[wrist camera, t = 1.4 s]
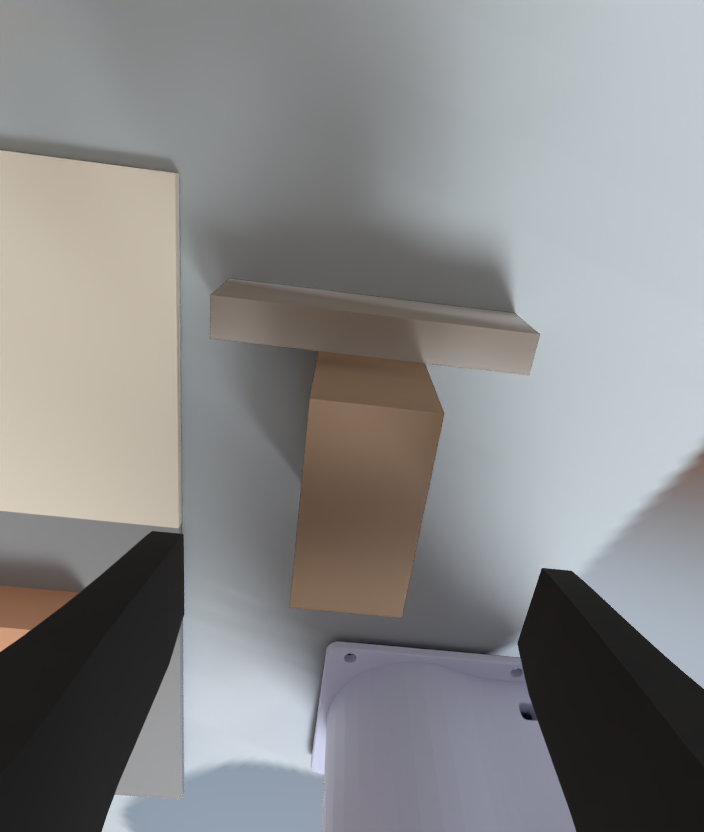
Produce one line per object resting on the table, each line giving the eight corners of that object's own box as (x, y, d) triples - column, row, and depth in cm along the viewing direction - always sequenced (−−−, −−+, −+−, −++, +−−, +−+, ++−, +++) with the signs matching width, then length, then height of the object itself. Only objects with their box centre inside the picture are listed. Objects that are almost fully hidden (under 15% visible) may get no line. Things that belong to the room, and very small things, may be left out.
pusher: (467, 504, 20) (512, 628, 15) (224, 479, 20) (174, 597, 14) (515, 313, 17) (591, 378, 12) (229, 278, 17) (170, 329, 11)
